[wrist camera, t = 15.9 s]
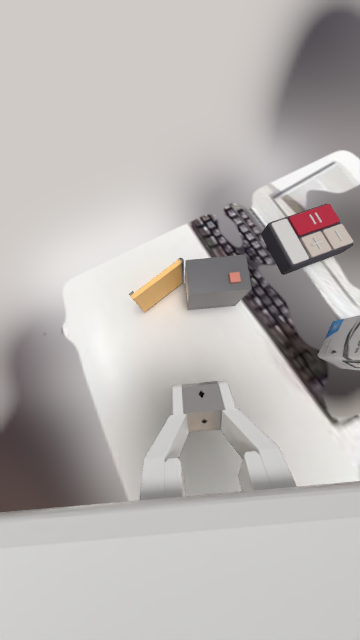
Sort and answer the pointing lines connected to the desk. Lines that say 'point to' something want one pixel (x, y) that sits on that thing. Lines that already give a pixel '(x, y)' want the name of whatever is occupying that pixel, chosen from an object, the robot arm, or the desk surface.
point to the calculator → (306, 238)
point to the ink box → (343, 344)
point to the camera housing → (216, 281)
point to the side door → (160, 286)
